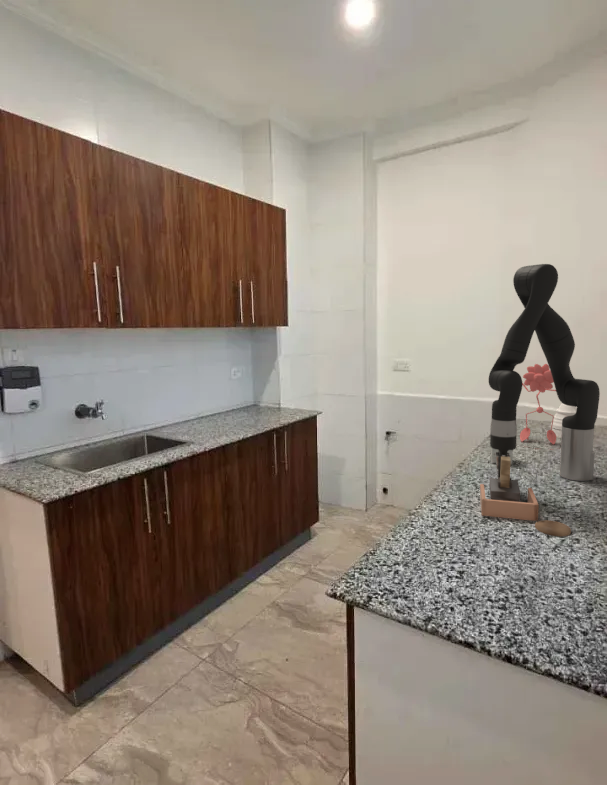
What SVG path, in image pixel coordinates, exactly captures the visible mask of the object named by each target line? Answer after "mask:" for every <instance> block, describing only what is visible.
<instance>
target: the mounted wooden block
mask: <svg viewBox="0 0 607 785" xmlns="http://www.w3.org/2000/svg"><path fill="white" fill-rule="evenodd" d="M511 466H512V465H511V460H510V457H502V456H501V466H500V477H498V476H497V478H495V477H489V484H488V485H489V497H490V498H489V499H492V500H503V501H514V502H521V489H520V485H519V480H518V479H512V478H511Z"/></svg>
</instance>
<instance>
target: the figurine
mask: <svg viewBox="0 0 607 785" xmlns="http://www.w3.org/2000/svg"><path fill="white" fill-rule="evenodd" d="M526 370H527V372H526V373H524V374H523V376H522V378H524V382H522V387H523V388H524V389H525V390H526V391H527V392H530V393H531V392H533V393H534V392H536V391H538V393H537V394H536V401H537V403H538V406H537V408H536V410H533V411H530V412H528V413H525V422H526V423H525V425H526V427H524V428H523V429H522V430H521V431H520V433H519V438H520V442H521V443H522V442H524V441H526V440H527V441H528V440H530V439H529V437H530V435H531V429H530V427H528V415H529V414H532V413H536V412H537V413H538V414H541V413H545V414H547V415H549V416H552V421H551V422H552V425H553V419H554V416H555V415H553V414H550V413H549V412H547V411H544V408H543V407H542V406H541V404H540V401H539V395H540V393H542V394H543V393H545V392H546V391H550V392H556V389H553V387H554V386H553V385H554V381H553V377H552V374H551V371H550V368H549V365H548V363H545V364H543V365H540V364H538V363H535V364H534V366H531V365H529V366H527V367H526ZM527 386H529V389H528V387H527ZM552 425H551V424H550V429H548V430H547V431H546V438H547V440H548V441H549V442H550V444H552V445H553V446H554V445H555V444H556V441H557V437H556V434H555V433H554V431H552ZM523 447H525V448H526V445H525V446H524V445H523ZM529 448H530V449H531V447H530V446H529V447H528V449H529ZM534 449H535V450H540V448H537V447H535V448H534ZM549 450H551V451H553V448H549ZM558 450H561V447H559V448H558Z"/></svg>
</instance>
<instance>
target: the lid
mask: <svg viewBox="0 0 607 785" xmlns="http://www.w3.org/2000/svg"><path fill="white" fill-rule="evenodd" d="M534 528H535V529H536V530H537V532H540V533H542V534H545V535H548V536H553V537H566V536H569V535H571V533H572V529H571V527H570V526H569V525H567V524H565V523H563V522H559V521H555V520H549V519H548V520H547V519H545V520H538V521H536V522H535V524H534Z"/></svg>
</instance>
